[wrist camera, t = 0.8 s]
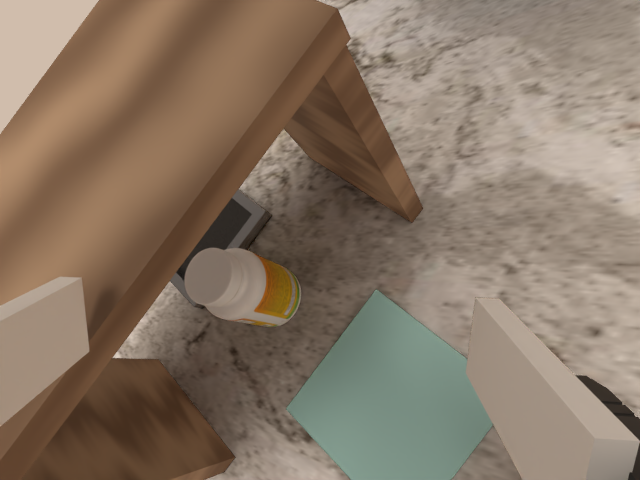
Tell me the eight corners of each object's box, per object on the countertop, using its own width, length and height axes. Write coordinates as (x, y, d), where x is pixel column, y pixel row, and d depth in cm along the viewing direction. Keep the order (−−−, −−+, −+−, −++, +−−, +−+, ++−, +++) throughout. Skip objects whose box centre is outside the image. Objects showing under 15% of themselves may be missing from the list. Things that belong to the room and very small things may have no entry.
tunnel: (428, 211, 34) (337, 8, 15) (227, 476, 34) (-116, 615, 15) (315, 142, 40) (147, -65, 21) (146, 368, 40) (-173, 369, 21)
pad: (514, 395, 28) (515, 395, 28) (406, 537, 28) (405, 539, 28) (377, 289, 34) (376, 289, 33) (287, 408, 34) (285, 408, 33)
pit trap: (271, 215, 39) (265, 210, 38) (202, 308, 40) (193, 306, 38) (204, 162, 44) (197, 157, 43) (142, 245, 45) (134, 242, 44)
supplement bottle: (287, 255, 38) (225, 222, 29) (313, 307, 35) (253, 288, 27) (240, 286, 39) (166, 263, 30) (262, 339, 36) (188, 330, 28)
